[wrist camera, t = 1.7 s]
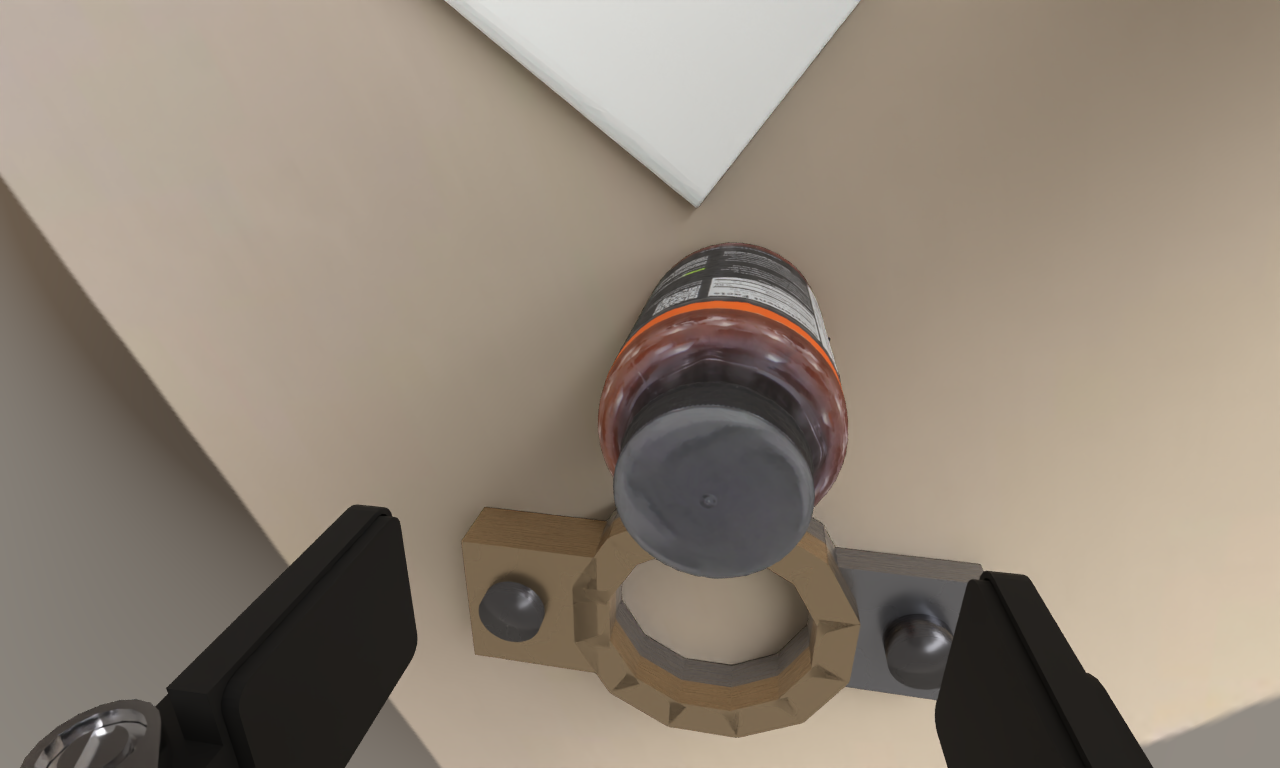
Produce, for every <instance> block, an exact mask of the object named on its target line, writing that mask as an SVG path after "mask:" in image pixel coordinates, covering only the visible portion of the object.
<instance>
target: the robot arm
mask: <svg viewBox="0 0 1280 768" xmlns="http://www.w3.org/2000/svg"><path fill="white" fill-rule="evenodd" d="M416 646H417V630H416V624H415V617H414V611H413V604H412V597H411V591H410V584H409V578H408V571H407V565H406V558H405V551H404V545H403V538H402V532H401V525H400V521H399V520H398V518H396V517H392V514H391V512H390V510H389V509H387V508H385V507H375V506H366V505H352V506H351V507H350V508H348V509H347V510H346V511H345V512H344V513H343V514H342V515H341V516H340V517H339V518H338V519H337V520H336V521H335V522H334V523H333V524H332V525H331V526H330V527H329V528H328V529H327V530H326V531H325V532H324V533H323V534H322V535H321V536H320V537H319V538H318V539H317V540H316V541H315V542H314V543H313V544H312V545H311V546H310V547H309V548H308V549H307V550H306V551H305V552H304V553H303V554H302V555H301V556H300V557H298V558H297V559H296V560H295V561H294V562H293V563H292V564H291V565H290V566H289V567H288V568H287V569H286V570H285V571H284V572H283V573H282V574H281V575H280V576H279V578H277V579H276V580H275V581H274V582H273V583H272V584H271V585H270V586H269V587H268V588H267V589H266V590H265V591H264V592H263V593H262V594H261V595H260V596H259V597H258V598H257V599H256V600H255V601H254V602H253V603H252V604H251V605H250V606H249V607H248V608H247V609H246V610H245V611H244V612H243V613H242V614H241V615H240V616H239V617H238V618H237V619H236V620H235V621H234V622H233V623H232V624H231V625H230V626H229V627H228V628H227V629H226V630H225V631H224V632H223V633H222V634H221V635H219V636H218V637H217V638H216V639H215V641H213V642H212V644H210V645H209V646H208V647H207V648H206V649H205V650H204V651H203V652H202V653H201V654H200V655H199V656H198V657H197V658H196V659H195V660H194V661H193V662H192V663H191V664H190V665H189V666H188V667H187V668H186V669H185V670H184V671H183V672H182V673H181V674H180V675H179V676H178V677H177V678H176V679H175V680H174V681H173V682H172V683H171V684H170V685H169V686H168V687H167V688H166V689H167V692H168V694H167V696H165V697H164V698H163V700H161V701H160V703H158V705H157V706H153V704H152V703H150V702H146V701H142V700H138V699H132V700H118V701H114V702H110V703H107V704H102V705H99V706H97V707H94V708H92V709H90V710H87V711H85V712H82V713H80V714H78V715H76V716H74V717H73V718H71V719H70V720H68V721H66V722H65V723H63V724H61V725H59V726H58V727H56V728H55V729H54V730H53V731H52V732H50V733H49V734H48V735H47V736H45V737H44V738H43V739H42V740H40V741H39V742H38V743H37V745H36V746H35V747H34V748H33V749H32V750H31V751H30V753H29V754H28V755H27V756H26V757H25V759H24V761H23V763H22V765H21V767H20V768H345V766H346V765H347V763H348V762H349V760H350V758H351V757H352V755H353V754H354V752H355V750H356V749H357V747H358V745H359V744H360V742H361V741H362V739H363V737H364V736H365V734H366V733H367V731H368V729H369V728H370V726H371V724H372V723H373V721H374V720H375V718H376V716H377V715H378V713H379V711H380V710H381V708H382V707H383V705H384V704H385V702H386V700H387V699H388V697H389V695H390V694H391V692H392V691H393V689H394V687H395V686H396V684H397V682H398V681H399V679H400V678H401V676H402V674H403V673H404V671H405V670H406V668H407V666H408V665H409V663H410V661H411V660H412V658H413V656H414V653H415V650H416ZM935 723H936V729H937V734H938V737H939V740H940V744H941V747H942V750H943V754H944V757H945V760H946V764H947V767H948V768H1153V767H1152V765H1151V763H1150V762H1149V760H1148V758H1147V757H1146V755H1145V753H1144V752H1143V750H1142V749H1141V747H1140V745H1139V744H1138V742H1137V740H1136V739H1135V737H1134V736H1133V734H1132V732H1131V731H1130V729H1129V727H1128V726H1127V724H1126V722H1125V721H1124V719H1123V718H1122V716H1121V714H1120V713H1119V711H1118V709H1117V708H1116V706H1115V704H1114V703H1113V701H1112V700H1111V698H1110V696H1109V695H1108V693H1107V691H1106V690H1105V688H1104V687H1103V686H1102V684H1101V683H1100V682H1099V681H1098V679H1097V678H1095V677H1094V676H1092V675H1091V674H1089V673H1086V672H1085V670H1084V669H1083V667H1082V665H1081V664H1080V662H1079V660H1078V659H1077V657H1076V655H1075V654H1074V652H1073V650H1072V649H1071V647H1070V645H1069V643H1068V642H1067V640H1066V638H1065V637H1064V635H1063V633H1062V632H1061V630H1060V628H1059V627H1058V625H1057V623H1056V622H1055V620H1054V618H1053V617H1052V615H1051V613H1050V612H1049V610H1048V608H1047V607H1046V605H1045V603H1044V602H1043V600H1042V598H1041V597H1040V595H1039V593H1038V592H1037V590H1036V588H1035V586H1034V585H1033V583H1032V581H1031V580H1030V579H1029V578H1028V577H1027V576H1025V575H1021V574H1011V573H1002V572H992V571H985V572H983V573H982V574H981V576H980V578H979V580H977V579H971V580H969V582H968V583H967V586H966V590H965V594H964V597H963V601H962V605H961V609H960V613H959V617H958V621H957V625H956V628H955V632H954V636H953V640H952V644H951V648H950V652H949V656H948V659H947V663H946V667H945V671H944V675H943V679H942V683H941V687H940V691H939V694H938V698H937V702H936V707H935Z"/></svg>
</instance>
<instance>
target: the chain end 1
mask: <svg viewBox="0 0 1280 768" xmlns="http://www.w3.org/2000/svg"><path fill="white" fill-rule="evenodd" d="M606 523H607V521H601V520H592V519H583V518H574V517H566V516H557V515H548V514H540V513H531V512H522V511H514V510H505V509H496V508H488V507H484V509H483V510H482V512H481V513H480V515H479V516H478V518H477V519H476V521H475V522H474V523H473V525H472V526H471V528H470V529H469V531H468V532H467V534H466V535H465V537H464V538H463V540H462V541H461V544H462V552H463V560H464V568H465V577H466V585H467V593H468V601H469V609H470V618H471V626H472V634H473V642H474V650H475V655H482V656H489V657H495V658H502V659H508V660H515V661H521V662H528V663H535V664H541V665H548V666H554V667H561V668H567V669H574V670H580V671H587V672H594V673H596V674H597V675H598V677H599V678H600V679H601V681H602V682H603V684H604V685H605V687H606V688H607V689H608V691H609V692H610V693H611V694H613V695H615V696H616V697H618V698H620V699H622V700H623V701H625V702H627V703H628V704H630V705H632V706H634V707H635V708H637V709H639V710H640V711H642V712H644V713H646V714H647V715H649V716H651V717H653V718H654V719H656V720H658V721H659V722H661V723H663V724H665V725H666V726H669V727H674V728H680V729H686V730H692V731H698V732H704V733H711V734H717V735H723V736H729V737H735V738H737V737H738V738H739V737H743V736H748V735H752V734H757V733H761V732H765V731H770V730H774V729H779V728H783V727H788V726H792V725H796V724H801V723H804V722H805V721H806V720H807V719H808V718H809V717H811V716H812V715H813V714H814V713H815V712H816V711H817V710H819V709H820V708H821V707H822V706H823V705H824V704H826V703H827V702H828V701H829V700H830V699H831V698H832V697H834V696H835V695H836V694H837V693H838V692H839V691H840V690H842V689H843V688H844V687H845V686H846V685H847V684H848V683H849V682H850V677H851V672H852V667H853V662H854V656H855V651H856V646H857V641H858V636H859V630H860V619H859V613H858V608H857V602H856V600H855V598H854V596H853V594H852V592H851V590H850V588H849V586H848V585H847V583H846V581H845V579H844V577H843V575H842V573H841V571H840V569H839V568H838V566H837V564H836V562H835V560H834V558H833V556H832V554H831V552H830V551H829V549H828V547H827V545H826V544H825V543H824V542H823V541H821V540H819V539H818V538H816V537H815V536H813V535H811V534H810V533H808V532H806V533H805V535H804V536H803V537H802V539H801V540H800V541H799V542H798V544H797V545H796V546H795V547H794V549H793V550H792V551H791V552H790V553H789V554H788V555H786V556H785V557H784V558H782V559H781V560H780V561H779V562H777V563H775V564H773V565H772V566H770V567H768V569H769V570H771V571H773V572H774V573H776V574H778V575H779V576H781V577H782V578H784V579H786V580H787V581H789V582H791V583H792V584H794V586H795V587H796V589H797V591H798V593H799V595H800V596H801V598H802V600H803V602H804V604H805V605H806V607H807V609H808V611H809V613H810V614H811V616H812V618H813V624H812V631H811V637H810V644H809V647H807V648H806V649H805V650H804V651H803V652H802V653H801V654H800V655H799V656H798V657H797V658H796V659H795V660H794V661H793V662H792V663H791V664H790V665H789V666H787V667H786V668H785V669H784V670H783V671H782V672H781V673H780V674H779V675H778V676H774V677H770V678H766V679H763V680H759V681H755V682H751V683H747V684H743V685H739V686H735V687H725V686H719V685H712V684H706V683H699V682H692V681H686V680H681V679H680V678H678V677H676V676H674V675H673V674H671V673H669V672H668V671H666V670H664V669H663V668H661V667H659V666H657V665H656V664H654V663H652V662H651V661H649V660H647V659H646V658H644V657H642V656H640V654H639V653H638V651H637V650H636V648H635V647H634V645H633V644H632V642H631V641H630V639H629V638H628V636H627V635H626V633H625V632H624V630H623V629H622V627H621V626H620V624H619V623H618V621H617V620H616V590H617V589H618V588H619V586H620V585H621V584H622V583H623V581H624V580H625V579H626V578H627V576H628V575H629V574H630V572H631V571H632V570H633V569H634V567H635V566H636V565H637V564H640V563H643V562H646V561H649V560H652V559H655V557H653V556H651V555H650V554H649V553H648V552H646V551H645V550H643V549H642V548H641V547H640V546H639V544H638V543H637V542H636V541H635V540H634V539H633V538H632V537H631V535H630V534H629V533H628V531H627V530H626V528H625V526H624V525H623V523H622V521H621V518H620V517H619V518H617V519H615V520H614V521H613V522H612V524H611V525H610V526H609V528H608V529H607V530H606V532H605V533H604V535H603V536H602V533H603V531H604V528H605V525H606ZM601 536H602V537H601Z"/></svg>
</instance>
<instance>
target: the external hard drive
mask: <svg viewBox="0 0 1280 768" xmlns="http://www.w3.org/2000/svg"><path fill="white" fill-rule="evenodd" d="M444 1H446V2H447V3H448V4H449V5H450V6H452V7H453V8H454V9H455V10H456V11H458V12H459V13H460V14H461V15H462V16H464V17H465V18H466V19H467V20H468V21H470V22H471V23H472V24H473V25H474V26H476V27H477V28H478V29H479V30H481V31H482V32H483V33H484V34H485V35H487V36H488V37H489V38H490V39H491V40H493V41H494V42H495V43H496V44H497V45H499V46H500V47H501V48H502V49H503V50H505V51H506V52H507V53H508V54H510V55H511V56H512V57H513V58H514V59H516V60H517V61H518V62H519V63H520V64H522V65H523V66H524V67H525V68H527V69H528V70H529V71H530V72H531V73H533V74H534V75H535V76H536V77H537V78H539V79H540V80H541V81H542V82H544V83H545V84H546V85H547V86H548V87H549V88H551V89H552V90H553V91H554V92H555V93H557V94H558V95H559V96H560V97H562V98H563V99H564V100H565V101H567V102H568V103H569V104H570V105H571V106H573V107H574V108H575V109H576V110H577V111H579V112H580V113H581V114H582V115H584V116H585V117H586V118H587V119H588V120H590V121H591V122H592V123H593V124H594V125H596V126H597V127H598V128H599V129H600V130H602V131H603V132H604V133H605V134H606V135H608V136H609V137H610V138H611V139H613V140H614V141H615V142H616V143H617V144H619V145H620V146H621V147H622V148H623V149H625V150H626V151H627V152H628V153H630V154H631V155H632V156H633V157H634V158H636V159H637V160H638V161H639V162H641V163H642V164H643V165H644V166H646V167H647V168H648V169H649V170H651V171H652V172H653V173H654V174H655V175H657V176H658V177H659V178H660V179H661V180H663V181H664V182H665V183H666V184H667V185H669V186H670V187H671V188H672V189H673V190H675V191H676V192H677V193H678V194H680V195H681V196H682V197H683V198H685V199H686V200H687V201H688V202H690V203H691V204H692V205H693V206H694V207H696V208H698V207H699V206H700V204H701V203H702V202H703V201H704V199H705V198H706V197H707V195H708V194H709V193H710V192H711V190H712V189H713V188H714V186H715V185H716V184H717V183H718V181H719V180H720V179H721V178H722V176H723V175H724V174H725V172H726V171H727V170H728V169H729V167H730V166H731V165H732V164H733V162H734V161H735V160H736V158H737V157H738V156H739V155H740V153H741V152H742V151H743V149H744V148H745V147H746V146H747V144H748V143H749V142H750V141H751V139H752V138H753V137H754V135H755V134H756V133H757V132H758V130H759V129H760V128H761V127H762V125H763V124H764V123H765V121H766V120H767V119H768V118H769V116H770V115H771V114H772V112H773V111H774V110H775V109H776V107H777V106H778V105H779V104H780V102H781V101H782V100H783V98H784V97H785V96H786V95H787V93H788V92H789V91H790V90H791V88H792V87H793V86H794V84H795V83H796V82H797V81H798V79H799V78H800V77H801V75H802V74H803V73H804V72H805V70H806V69H807V68H808V67H809V65H810V64H811V63H812V61H813V60H814V59H815V58H816V56H817V55H818V54H819V53H820V51H821V50H822V49H823V47H824V46H825V45H826V44H827V42H828V41H829V40H830V39H831V37H832V36H833V35H834V33H835V32H836V31H837V30H838V28H839V27H840V26H841V25H842V23H843V22H844V21H845V20H846V18H847V17H848V16H849V14H850V13H851V12H852V11H853V10H854V8H855V7H856V5H857V4H858V3H859V2H860V0H444Z"/></svg>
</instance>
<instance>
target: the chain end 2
mask: <svg viewBox="0 0 1280 768" xmlns="http://www.w3.org/2000/svg"><path fill="white" fill-rule="evenodd" d="M619 517H620V516H619V514H618V511H617V508H616V510H615V511H614V512H613V514H612V515H611V516H610V518H609V519H608V521H607V523H606V525H605V528H604V531H603V533H602V536H603V535H604V533H605V532H606V530H607V529H608V528H609V526H610V525H611V524H612V522H613V521H614V520H615V519H617V518H619ZM806 532H808V533H810V534H811V535H813V536H815V537H816V538H818V539H819V540H821V541H823V542H824V543H825V544H826V545H827V547H828V549H829V551H830V552H831V554H832V556H833V558H834V560H835V562H836V564H837V566H838V568H839V569H840V571H841V573H842V575H843V577H844V579H845V581H846V583H847V585H848V586H849V588H850V590H851V592H852V594H853V596H854V598H855V600H856V602H857V608H858V613H859V619H860V630H859V636H858V641H857V646H856V651H855V656H854V662H853V667H852V672H851V677H850V682H849V683H848V684H847V685H846V686H845V687H850V688H857V689H864V690H871V691H878V692H884V693H891V694H898V695H905V696H912V697H918V698H925V699H932V700H937V698H938V694H939V691H940V687H941V683H942V679H943V675H944V671H945V667H946V663H947V659H948V656H949V652H950V648H951V644H952V640H953V636H954V632H955V628H956V625H957V621H958V617H959V613H960V609H961V605H962V601H963V597H964V594H965V590H966V586H967V583H968V582H969V580H971V579H977V580H979V578H980V576H981V574H982V573H983V572H984V571H983V569H982V567H981V565H980V564H973V563H965V562H956V561H947V560H939V559H930V558H921V557H913V556H904V555H895V554H887V553H878V552H869V551H861V550H852V549H843V548H835V546H834V544H833V542H832V540H831V538H830V536H829V535H828V533H827V531H826V529H825V527H824V525H823V524H822V523H820V522H818V521H817V520H815V519H814V518H811V521H810V524H809V526H808V528H807V530H806ZM602 536H601V537H602ZM616 620H617V621H618V623H619V624H620V626H621V627H622V629H623V630H624V632H625V633H626V635H627V636H628V638H629V639H630V641H631V642H632V644H633V645H634V647H635V648H636V650H637V651H638V653H639V654H640V656H642V657H644V658H646V659H647V660H649V661H651V662H652V663H654V664H656V665H657V666H659V667H661V668H663V669H664V670H666V671H668V672H669V673H671V674H673V675H674V676H676V677H678V678H680V679H681V680H686V681H692V682H699V683H706V684H712V685H719V686H725V687H735V686H739V685H743V684H747V683H751V682H755V681H759V680H763V679H766V678H770V677H774V676H778V675H779V674H780V673H781V672H782V671H783V670H784V669H785V668H786V667H787V666H789V665H790V664H791V663H792V662H793V661H794V660H795V659H796V658H797V657H798V656H799V655H800V654H801V653H802V652H803V651H804V650H805V649H806V648H807V647H809V644H810V637H811V631H812V624H813V618H812V616H811V614H810V613H809V618H808V624H807V625H806V626H805V627H804V628H803V629H802V630H801V631H800V632H799V633H798V634H797V635H796V636H795V637H794V638H793V639H792V640H791V641H790V642H789V643H788V644H787V645H786V646H785V647H784V648H783V649H782V650H781V651H780V652H779V653H778V654H774V655H770V656H767V657H763V658H759V659H755V660H752V661H748V662H744V663H741V664H737V665H733V666H732V665H726V664H719V663H712V662H705V661H698V660H691V659H685V658H683V657H682V656H680V655H678V654H676V653H675V652H673V651H671V650H670V649H668V648H666V647H665V646H663V645H661V644H660V643H658V642H656V641H655V640H653V639H651V638H649V637H648V636H646V635H645V634H644V633H643V631H642V630H641V628H640V627H639V625H638V624H637V622H636V621H635V619H634V618H633V616H632V614H631V613H630V611H629V610H628V608H627V607H626V605H625V604H624V602H623V601H622V584H621V585H620V586H619V588H618V589H617V590H616Z"/></svg>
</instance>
